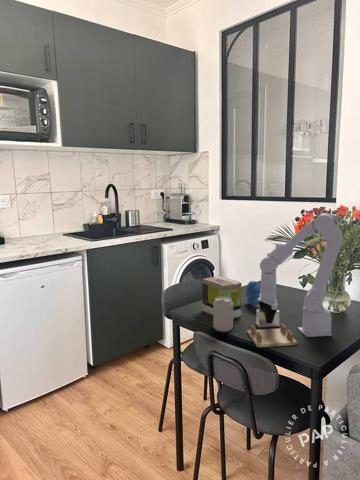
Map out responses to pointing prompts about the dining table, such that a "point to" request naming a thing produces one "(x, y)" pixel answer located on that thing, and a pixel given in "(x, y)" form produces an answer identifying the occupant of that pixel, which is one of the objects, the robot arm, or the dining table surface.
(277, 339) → the tray
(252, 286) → the grapes
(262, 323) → the block
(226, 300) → the can
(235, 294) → the tea box
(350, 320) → the dining table surface
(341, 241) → the robot arm
